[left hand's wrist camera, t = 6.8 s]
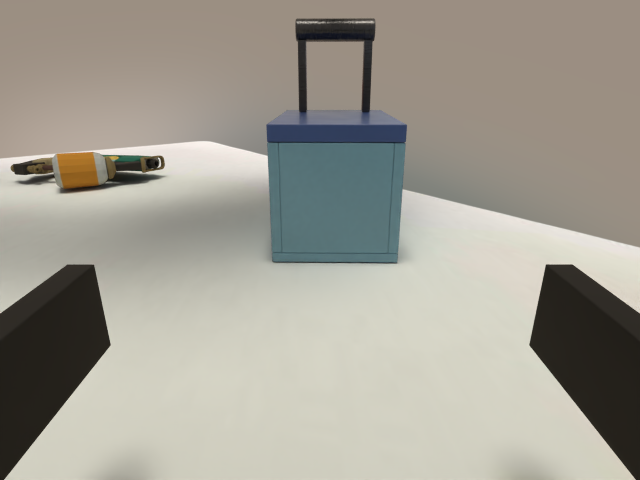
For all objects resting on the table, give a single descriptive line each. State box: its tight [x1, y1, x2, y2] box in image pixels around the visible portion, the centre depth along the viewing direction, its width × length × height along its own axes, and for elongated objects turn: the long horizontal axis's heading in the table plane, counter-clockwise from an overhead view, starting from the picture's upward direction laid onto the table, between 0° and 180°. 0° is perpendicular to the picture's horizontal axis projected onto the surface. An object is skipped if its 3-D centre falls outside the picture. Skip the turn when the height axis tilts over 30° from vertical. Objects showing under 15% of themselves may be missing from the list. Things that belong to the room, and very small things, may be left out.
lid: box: [267, 19, 407, 142], centre depth 34 cm, size 15×9×9 cm, turn 179°
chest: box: [267, 142, 405, 262], centre depth 36 cm, size 14×9×9 cm, turn 179°
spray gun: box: [11, 152, 165, 189], centre depth 58 cm, size 4×17×15 cm
